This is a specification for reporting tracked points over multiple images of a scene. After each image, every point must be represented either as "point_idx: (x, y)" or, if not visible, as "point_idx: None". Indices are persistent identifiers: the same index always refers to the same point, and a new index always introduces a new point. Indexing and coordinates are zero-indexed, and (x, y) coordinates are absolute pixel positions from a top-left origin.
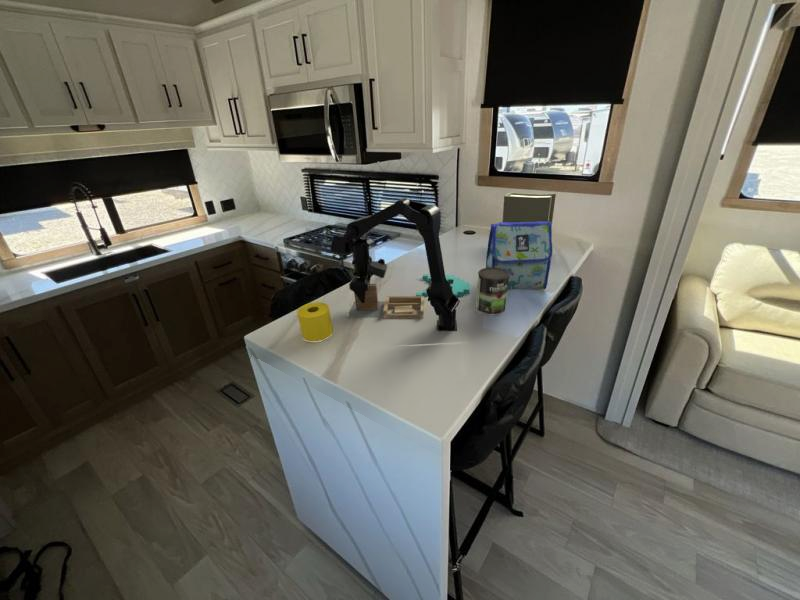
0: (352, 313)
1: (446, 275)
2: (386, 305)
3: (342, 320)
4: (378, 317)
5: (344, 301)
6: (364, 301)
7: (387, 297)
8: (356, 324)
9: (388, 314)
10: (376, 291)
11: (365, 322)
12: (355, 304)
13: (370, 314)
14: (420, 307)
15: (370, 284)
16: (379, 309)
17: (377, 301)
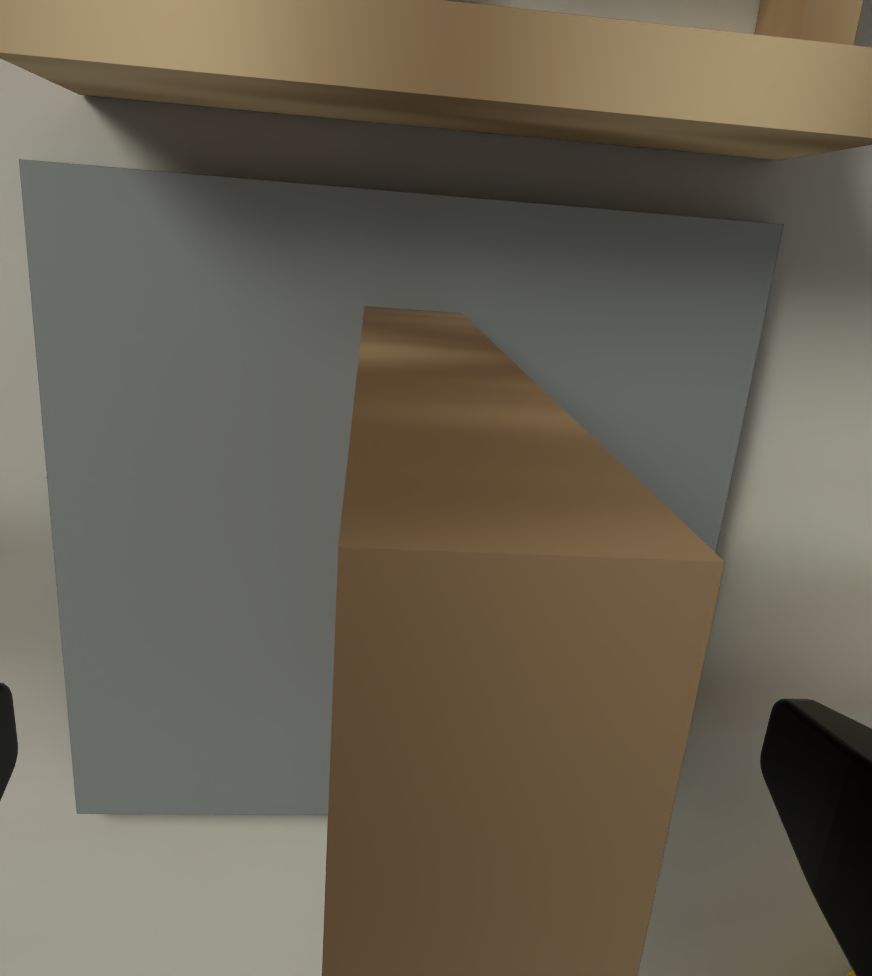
0: None
1: None
2: (594, 46)
3: (697, 858)
4: (766, 277)
5: (57, 948)
6: (864, 726)
7: (65, 24)
8: (866, 646)
9: (846, 12)
10: (490, 413)
11: (840, 511)
12: (199, 772)
13: (619, 453)
14: None
15: (450, 935)
16: (428, 277)
17: (428, 335)
